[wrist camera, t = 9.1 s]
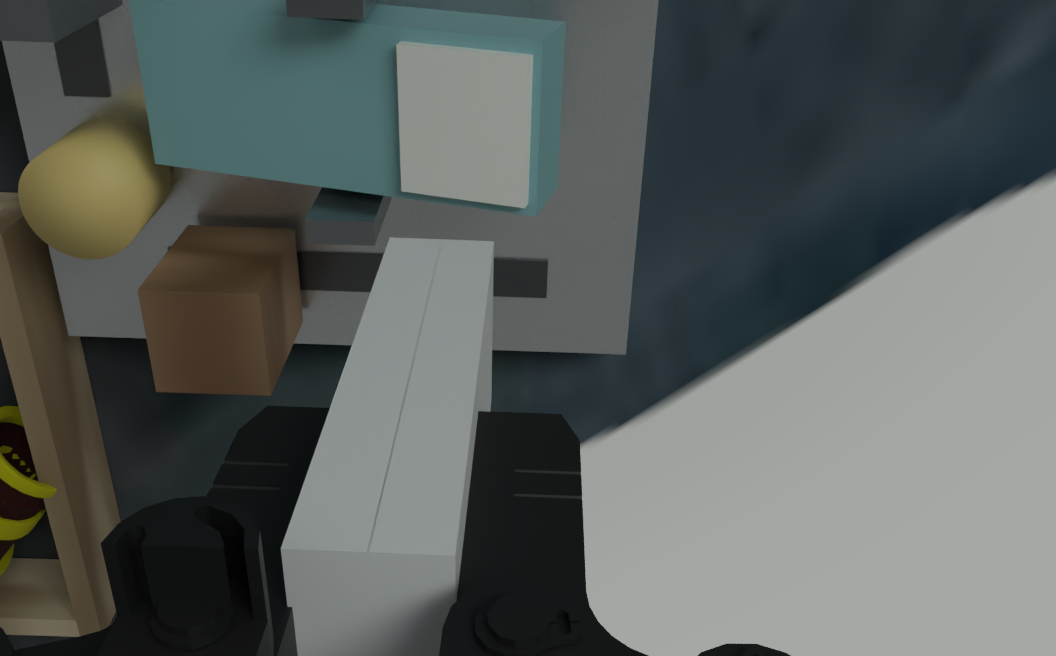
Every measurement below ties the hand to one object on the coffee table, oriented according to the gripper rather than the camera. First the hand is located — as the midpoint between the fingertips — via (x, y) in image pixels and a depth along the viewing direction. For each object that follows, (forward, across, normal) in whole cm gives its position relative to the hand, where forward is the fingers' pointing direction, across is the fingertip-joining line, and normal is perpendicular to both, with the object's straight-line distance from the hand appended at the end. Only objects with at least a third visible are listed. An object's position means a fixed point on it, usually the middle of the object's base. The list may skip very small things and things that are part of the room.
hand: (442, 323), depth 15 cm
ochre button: (+13, -10, -3) cm, 17 cm away
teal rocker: (+12, -3, 0) cm, 12 cm away
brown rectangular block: (+13, -7, -6) cm, 16 cm away
